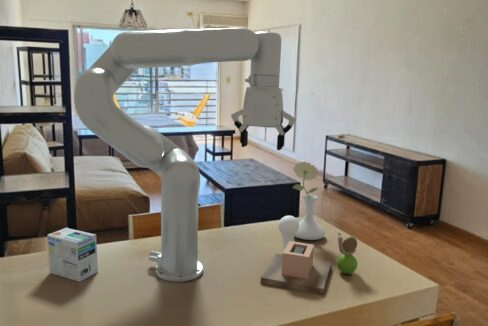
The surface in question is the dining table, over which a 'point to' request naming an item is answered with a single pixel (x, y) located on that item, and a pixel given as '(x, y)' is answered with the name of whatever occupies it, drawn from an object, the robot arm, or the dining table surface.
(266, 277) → the hub plate
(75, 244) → the light bulb box
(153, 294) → the dining table surface
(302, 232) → the flower in vase
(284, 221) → the lightbulb
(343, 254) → the snail figurine
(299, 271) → the tan rectangular frame
